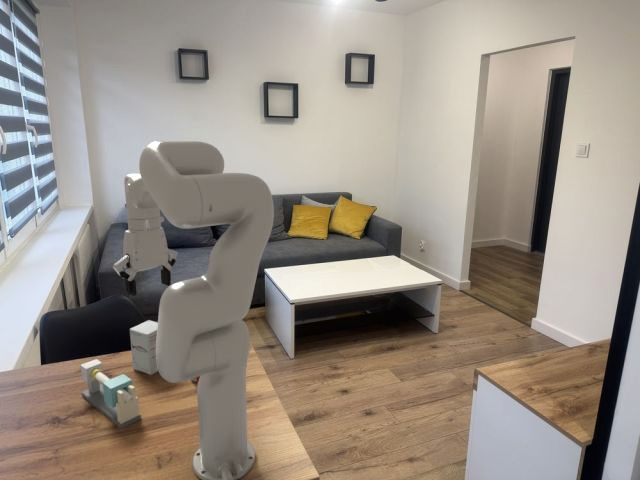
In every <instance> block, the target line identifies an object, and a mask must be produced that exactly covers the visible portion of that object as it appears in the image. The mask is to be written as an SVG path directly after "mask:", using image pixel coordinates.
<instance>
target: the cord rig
mask: <svg viewBox="0 0 640 480" xmlns="http://www.w3.org/2000/svg"><path fill="white" fill-rule="evenodd" d="M80 371H81V379H82V381H84V382H85V383H86V384H87V389H86V390H84V391H82V392H81V397H83V398H84V399H85V400H87V401H88V402H89V403H91V405H92V406H94V407H95V408H96V409H97V410H98V411H99V412H101V413H102V414H103V415H104V416H105V417H106V418H107V419H108V420H110V421H111V422H112V423H113V424H114V425H116V426H117V427H118V429H123V428H125V427H127V426H130V425H131V424H134V423H135V422H137V421H139V420H141V419H142V414H141V413H140V408H139V397H138V396H137V395H136V387H135V386H133V384H132V385H130V386H128V390H129V393H128V392H127V391H125V390H124V389H123V388H122V389H120V390H118V391H116V395H117V399H118V403H116V407H114V408H112V407H111V406H110V405H108V404H107V403H106V402H105V401H104V392H103V382H105V381H107V380H110V379H111V378H109V377H108V376H107V375H105V374H104V369H103V363H102V361H100V360H99V359H97V358H96V359H92V360H91V361H87V362H85V363H82V364H80ZM100 383H101V384H100Z"/></svg>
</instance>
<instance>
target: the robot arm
mask: <svg viewBox="0 0 640 480" xmlns="http://www.w3.org/2000/svg"><path fill="white" fill-rule="evenodd" d="M139 157H140V158H139V164H138V165H139V166H138V167H139V173H138V172H136V173H129V174H127V175H125V177H124V180H123V183H124V184H123V185H124V195H125V204H126V205H125V206H126V218H127V228H128V229H127V230H125V231H124V235H123V245H122V247H123V251H122V253H123V254H122V255H123V257H121V258H120V259H119V260H117V262H115V263H114V264H112V268H113V269H114V271H115V272H116V273H117V274H116V275H118V276H119V277H121V278H122V279H123V280H124V283H125V292H126V293H127V294H128V295H130V296H132V297H136V296H137V294H138V292H137V285H136V283H137V281H136V280H135V276H136V275H137V273H138V272H143V271H146V270H151V269H155V268H161V269H160V279H161V281H160V283H161V284H162V285H164V286H167V287H166V289H164V291H163V293H162V295H161V297H160V299H159V300H160V301H159V307H158V319H157V323H158V327H157V338H156V363H157V368H158V371H157V372H158V373H159V375H160V376H161V377H162V379H164V380H165V381H166V382H167V383H172V384H179V383H183V382H186V381H189V380H191V379H193V378H196V377H199V376H200V378H199V382H197V387H196V397H197V398H196V399H197V401H196V402H197V416H198V434H199V435H198V438H199V448H198V449H197V450H196V452H195V453H194V455H193V457H192V469H193V471H194V474H195V475H196V476H197V477H198V478H199V479H201V480H238V479H240V478H242V477H244V476H245V475H247V473H249V471H251V469H252V467H253V466H254V464H255V461H256V451H255V447H254V446H253V445H252V443H251V442H250V441H248V419H247V417H248V415H247V366H248V361H249V360H248V359H249V354H250V350H251V349H250V348H251V334H250V330H249V327H248V325H247V324H246V322H245V321H244V319H245V317H246V316H247V315H248V313H249V311H250V307H251V304H252V301H253V295H254V290H255V285H256V281H257V276H258V272H259V267H260V262H261V259H262V256H263V253H264V251H265V248H266V247H267V244H268V242H269V240H270V236H271V233H272V230H273V226H274V219H275V218H274V217H275V208H274V198H273V196H272V195H273V194H272V192H271V189H270V187H269V186H268V184H267V182H265V181H264V180H263V179H262V178H261V177H258V176H256V175H254V174H250V173H243V172H226V173H225V172H224V171H225V170H224V169H225V160H224V157H223V154H222V153H221V151H220V150H219V149H218V148H217V147H215V145H213V144H210V143H207V142H204V141H193V140H192V141H188V140H186V141H182V140H181V141H179V140H178V141H176V140H175V141H174V140H171V141H168V140H161V141H153V142H150V143H149V144H148V145H146V146H145V148H144V149H143V150H142V152H141V153H140V156H139ZM160 212H161V213H162V214H163V216H161V213H160ZM165 218H166V220H167V221H168V222H169V223H170V224H171V225H173V226H174V227H176V228H178V229H183V230H185V229H186V230H187V229H188V230H189V229H196V228H197V229H198V228H205V227H211V226H212V227H213V226H219V225H226V224H227V225H228V224H229V227H228V228H227V229H226V231H224V233H222V235H221V236H220V237H219V238H218V239H217V241H216V242H215V244H214V246H213V247H212V250H211V252H210V255H209V260H208V266H207V267H208V268H207V271H206V273H205V274H203V275H201V276H199V277H194V278H189V279H185V280H180V281H177V282H175V283H171V281H172V275H171V271H172V270H173V266H175V263H176V262H177V261H176V259H177V258H178V254H179V252H178V251H176V250H174V249H172V248H171V249H170V248H168V242H167V238H166V233H165V229H164V227H162V222H163V223H164V221H165ZM123 267H124V269H125V271H124V269H123Z"/></svg>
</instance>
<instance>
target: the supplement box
mask: <svg viewBox="0 0 640 480" xmlns="http://www.w3.org/2000/svg"><path fill="white" fill-rule="evenodd" d="M157 327H158V321H153V320H150V319H148V320H146V321H144V322H141V323H140V324H138V325H135V326H133V327H131V328H129V336H130V337H129V338H130V347H131V348H130V349H131V360H132V369H133V370H135V371H139V372H141V373H145V374H147V375H149V376H152V375H154V374H155V373H158V372H159V371H158V368H157V363H156V338H157Z"/></svg>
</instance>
